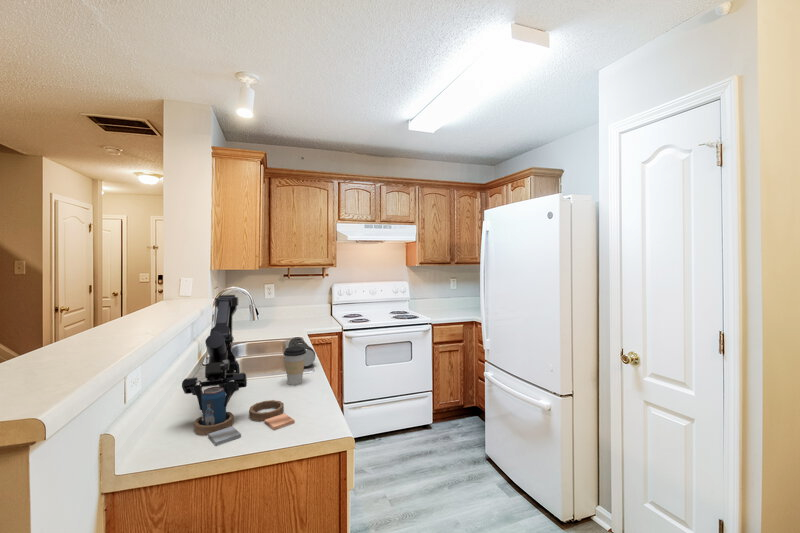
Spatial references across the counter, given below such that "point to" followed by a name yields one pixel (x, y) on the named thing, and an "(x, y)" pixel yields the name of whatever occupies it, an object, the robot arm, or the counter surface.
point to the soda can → (213, 406)
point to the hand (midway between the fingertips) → (213, 408)
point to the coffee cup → (294, 364)
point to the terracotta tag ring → (270, 414)
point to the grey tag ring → (218, 430)
